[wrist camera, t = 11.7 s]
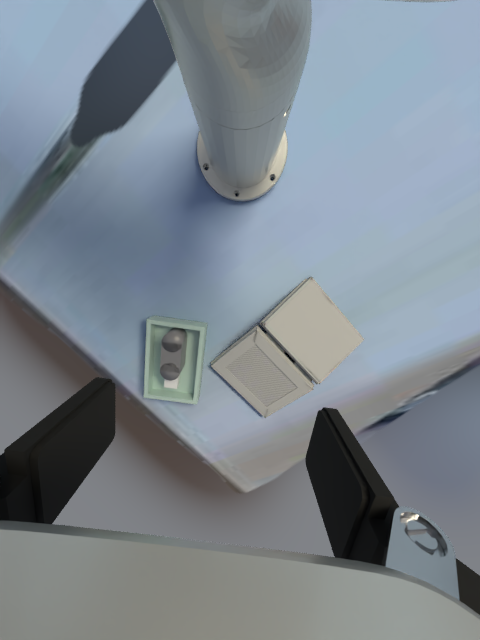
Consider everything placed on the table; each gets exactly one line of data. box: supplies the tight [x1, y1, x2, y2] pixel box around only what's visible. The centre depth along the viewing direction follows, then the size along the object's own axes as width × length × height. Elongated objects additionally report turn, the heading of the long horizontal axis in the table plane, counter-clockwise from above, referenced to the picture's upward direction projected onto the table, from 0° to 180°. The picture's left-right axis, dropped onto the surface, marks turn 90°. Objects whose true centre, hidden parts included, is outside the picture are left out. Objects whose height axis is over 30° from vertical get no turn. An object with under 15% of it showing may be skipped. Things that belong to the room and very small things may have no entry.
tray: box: [144, 316, 207, 404], centre depth 39 cm, size 14×9×3 cm, turn 172°
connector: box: [160, 327, 187, 389], centre depth 37 cm, size 10×3×4 cm, turn 172°
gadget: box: [211, 277, 364, 418], centre depth 38 cm, size 23×15×4 cm, turn 133°
